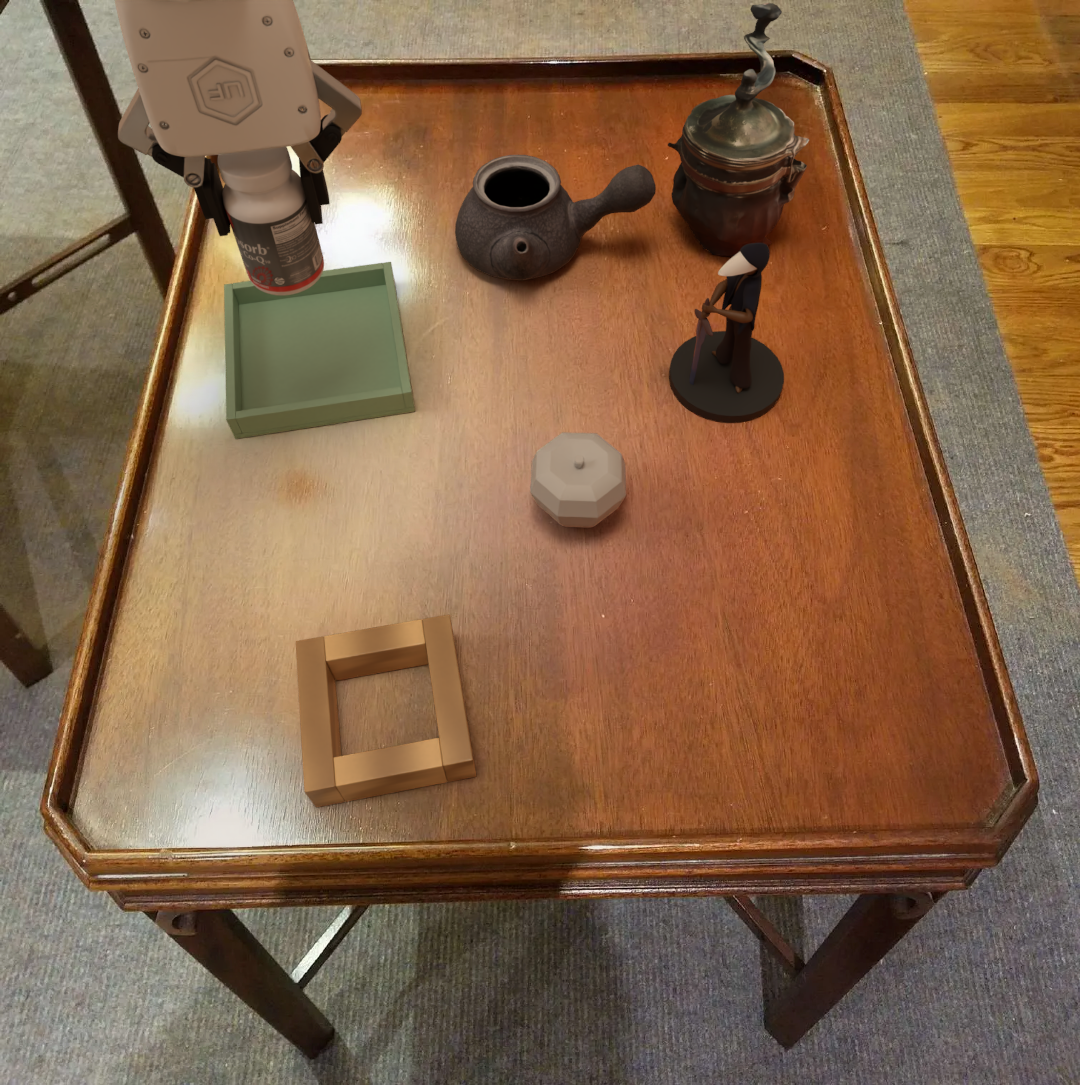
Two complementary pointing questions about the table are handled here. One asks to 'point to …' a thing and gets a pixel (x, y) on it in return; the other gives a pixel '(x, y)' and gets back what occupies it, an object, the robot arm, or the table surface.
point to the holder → (390, 766)
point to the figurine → (729, 350)
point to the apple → (578, 479)
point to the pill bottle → (271, 220)
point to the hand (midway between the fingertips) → (270, 215)
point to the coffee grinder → (738, 158)
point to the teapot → (536, 215)
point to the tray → (315, 353)
